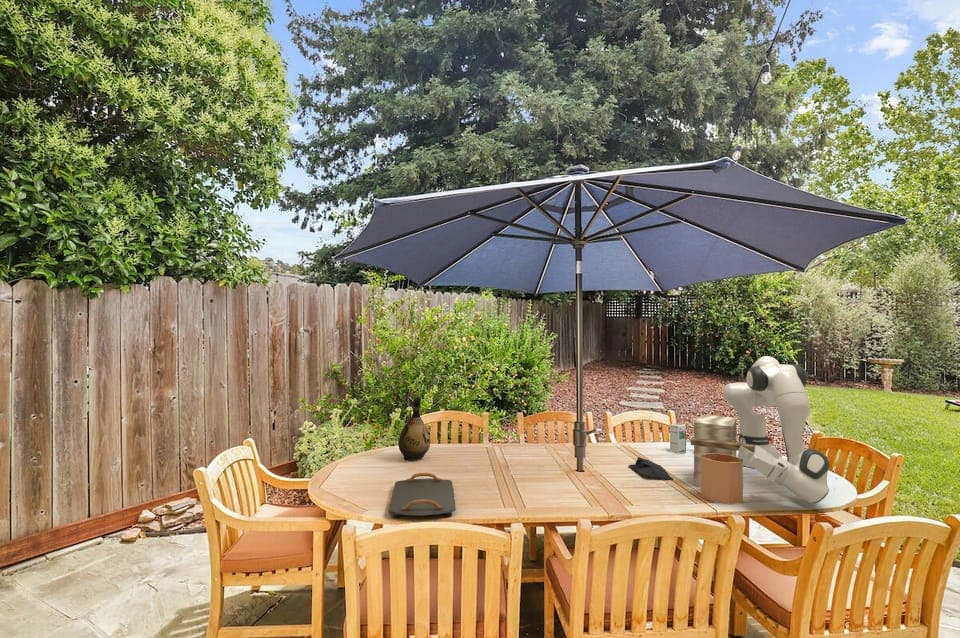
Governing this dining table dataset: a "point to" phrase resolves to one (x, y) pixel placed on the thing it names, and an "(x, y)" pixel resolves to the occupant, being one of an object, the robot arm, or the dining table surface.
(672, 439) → the syrup box
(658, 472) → the black cloth
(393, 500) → the serving board
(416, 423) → the ceramic jug
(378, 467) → the dining table surface
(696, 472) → the zigzag patterned cylinder
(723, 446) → the slat
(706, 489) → the pot
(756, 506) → the dining table surface
